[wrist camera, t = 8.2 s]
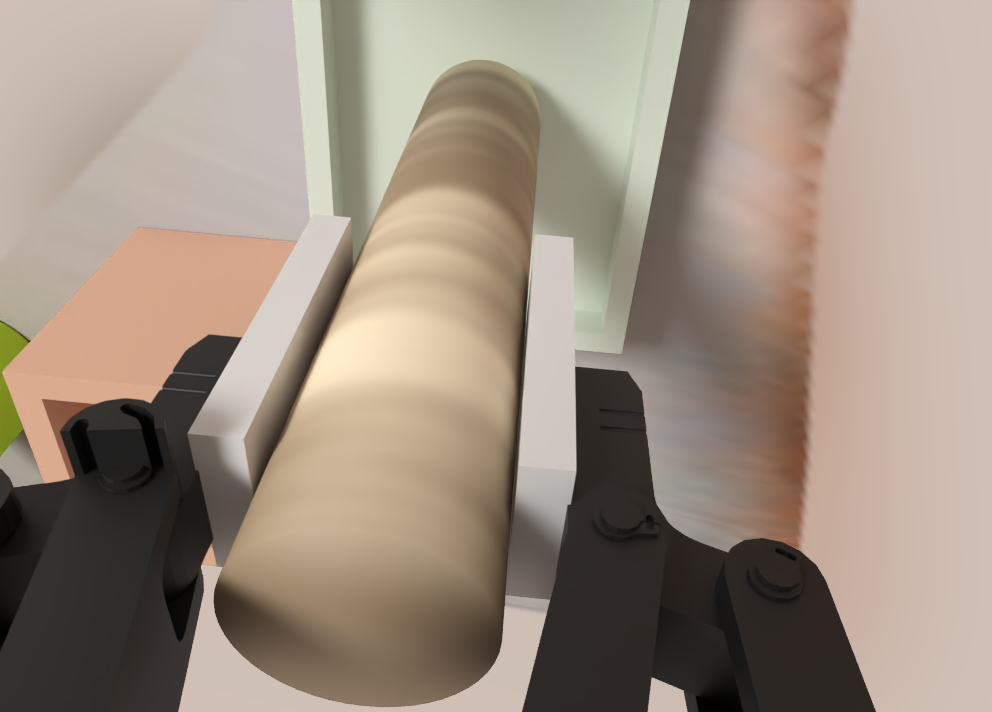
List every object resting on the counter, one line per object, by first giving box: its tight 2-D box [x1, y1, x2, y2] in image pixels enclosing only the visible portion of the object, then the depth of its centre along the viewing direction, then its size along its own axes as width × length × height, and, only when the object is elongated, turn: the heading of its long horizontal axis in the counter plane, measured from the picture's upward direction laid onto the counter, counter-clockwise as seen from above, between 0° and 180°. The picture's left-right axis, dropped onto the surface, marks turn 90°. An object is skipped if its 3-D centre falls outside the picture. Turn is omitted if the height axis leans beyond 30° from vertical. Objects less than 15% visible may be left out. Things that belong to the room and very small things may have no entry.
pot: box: [2, 228, 297, 566], centre depth 29 cm, size 8×8×9 cm
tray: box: [292, 0, 690, 354], centre depth 25 cm, size 16×11×3 cm
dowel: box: [214, 60, 541, 707], centre depth 17 cm, size 4×4×18 cm
